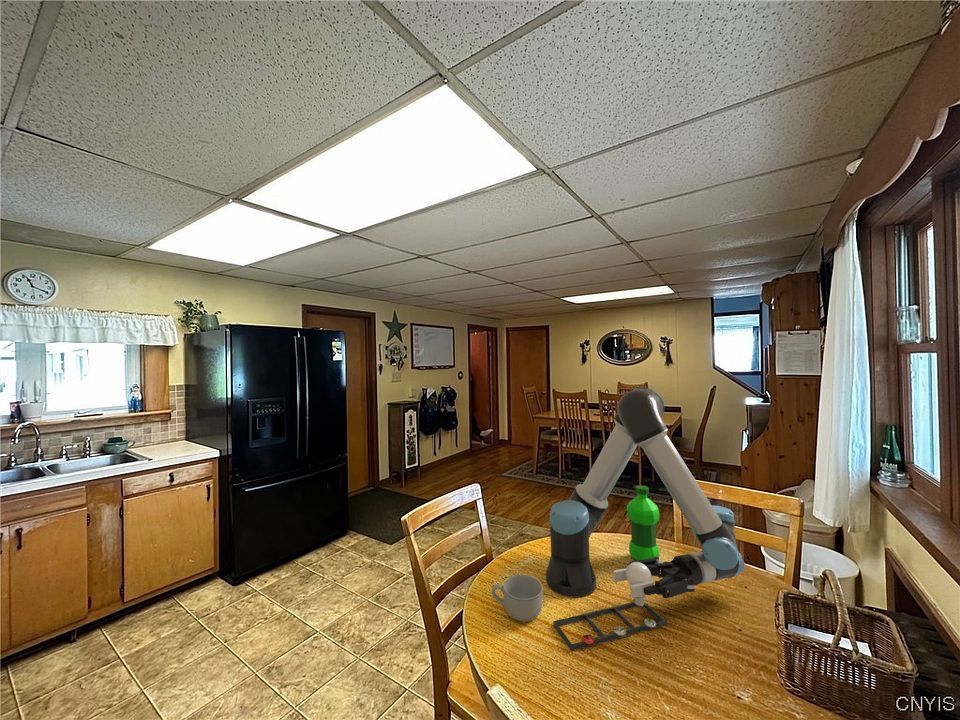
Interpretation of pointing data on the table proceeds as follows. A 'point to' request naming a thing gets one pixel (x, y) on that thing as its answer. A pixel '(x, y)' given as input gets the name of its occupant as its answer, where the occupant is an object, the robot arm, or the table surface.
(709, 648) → the table surface
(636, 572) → the lightbulb
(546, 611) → the table surface
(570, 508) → the robot arm
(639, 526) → the plastic bottle
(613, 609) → the dark grey flat frame
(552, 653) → the table surface
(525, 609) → the teacup
